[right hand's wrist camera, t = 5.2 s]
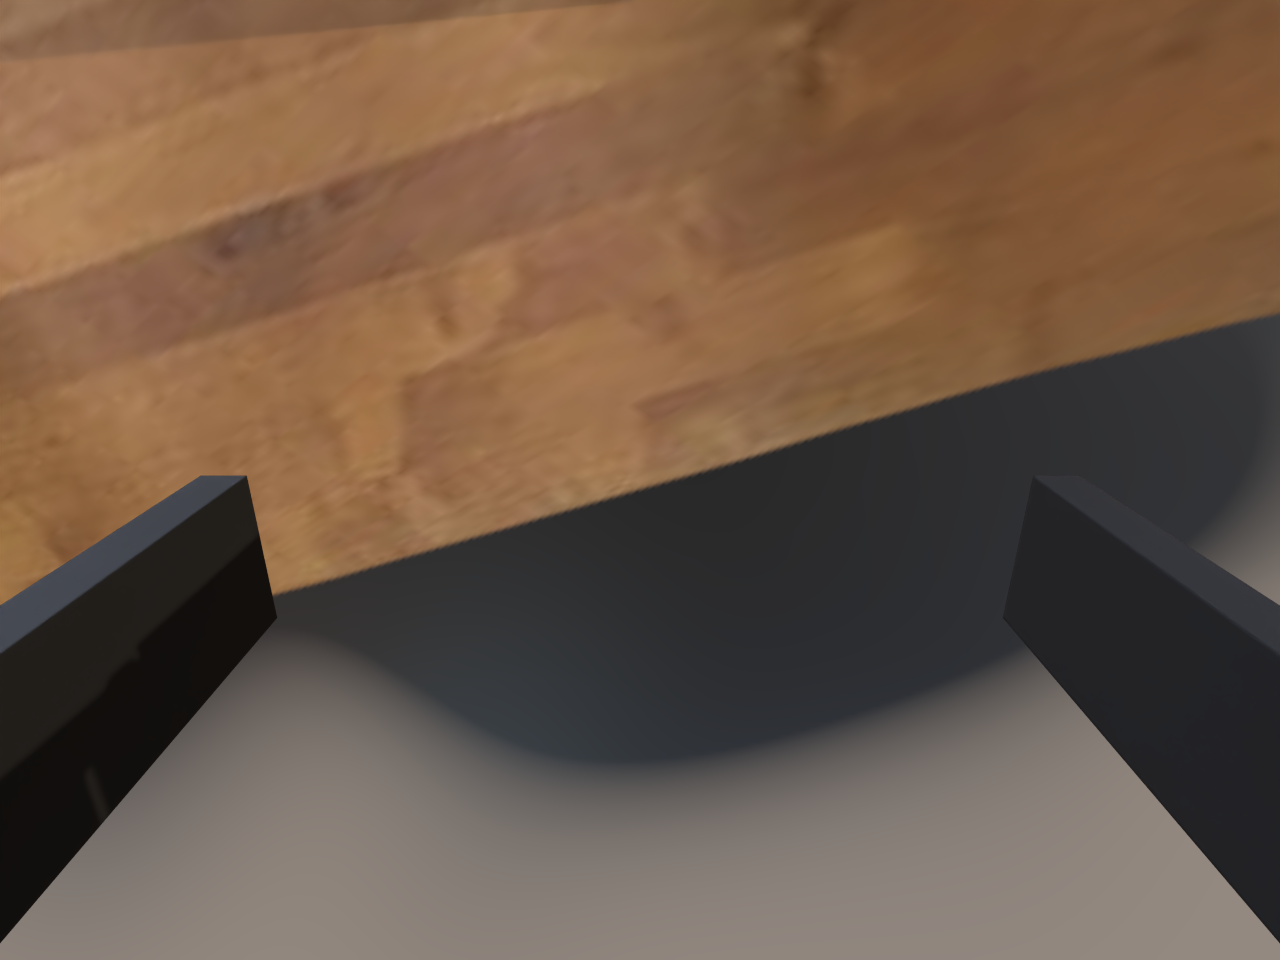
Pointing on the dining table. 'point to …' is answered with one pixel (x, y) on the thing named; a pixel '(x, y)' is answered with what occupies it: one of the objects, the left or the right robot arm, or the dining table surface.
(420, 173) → the dining table surface
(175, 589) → the right robot arm
